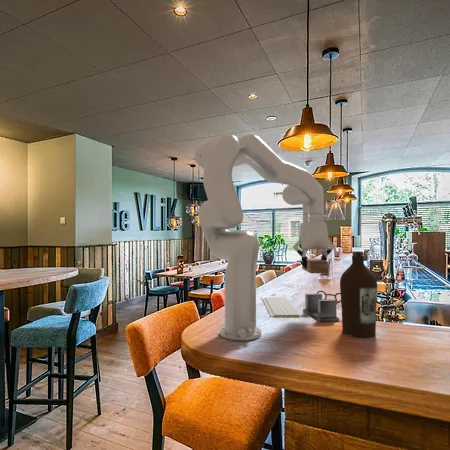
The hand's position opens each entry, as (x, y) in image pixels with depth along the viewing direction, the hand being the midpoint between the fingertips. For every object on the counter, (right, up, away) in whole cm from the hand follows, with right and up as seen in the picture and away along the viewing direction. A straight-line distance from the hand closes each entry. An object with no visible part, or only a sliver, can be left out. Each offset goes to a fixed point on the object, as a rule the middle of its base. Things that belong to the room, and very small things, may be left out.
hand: (314, 267), depth 119 cm
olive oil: (+8, -18, -20) cm, 28 cm away
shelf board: (0, -1, 0) cm, 1 cm away
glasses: (+10, -19, +20) cm, 30 cm away
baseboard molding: (-11, -19, +15) cm, 27 cm away
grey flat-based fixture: (+2, -18, 0) cm, 18 cm away
